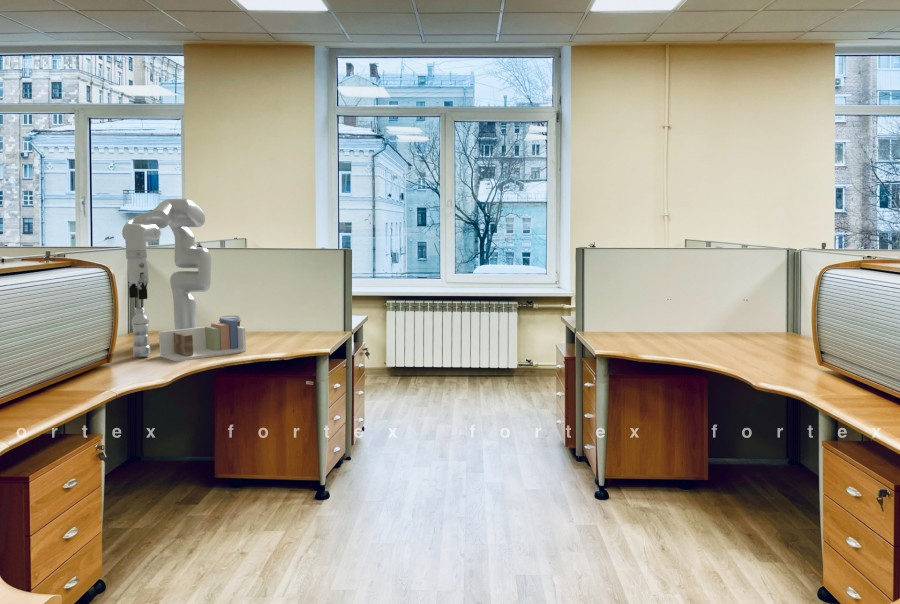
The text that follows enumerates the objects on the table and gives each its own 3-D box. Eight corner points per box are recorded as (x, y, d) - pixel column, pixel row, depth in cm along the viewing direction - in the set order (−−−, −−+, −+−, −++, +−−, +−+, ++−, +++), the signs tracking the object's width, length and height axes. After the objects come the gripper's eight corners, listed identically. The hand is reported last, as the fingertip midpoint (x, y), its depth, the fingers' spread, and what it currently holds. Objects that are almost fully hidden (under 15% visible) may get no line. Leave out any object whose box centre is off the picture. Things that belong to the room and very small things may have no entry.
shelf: (159, 356, 288) (158, 324, 286) (229, 347, 308) (227, 317, 307) (175, 361, 277) (173, 328, 275) (245, 351, 298) (244, 320, 296)
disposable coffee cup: (235, 345, 312) (234, 318, 311) (215, 344, 314) (214, 318, 312) (245, 341, 321) (245, 315, 320) (226, 341, 323) (225, 315, 322)
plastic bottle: (144, 355, 290) (141, 306, 288) (154, 356, 286) (151, 307, 284) (129, 357, 285) (127, 308, 283) (139, 359, 281) (136, 309, 279)
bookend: (174, 352, 289) (173, 332, 288) (181, 351, 291) (180, 332, 291) (185, 355, 282) (184, 336, 281) (193, 354, 284) (192, 335, 283)
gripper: (154, 255, 277) (156, 299, 279) (137, 254, 290) (139, 296, 291) (134, 256, 272) (136, 300, 274) (118, 255, 284) (120, 297, 286)
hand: (138, 298), depth 283 cm, fingers open, 9 cm apart
